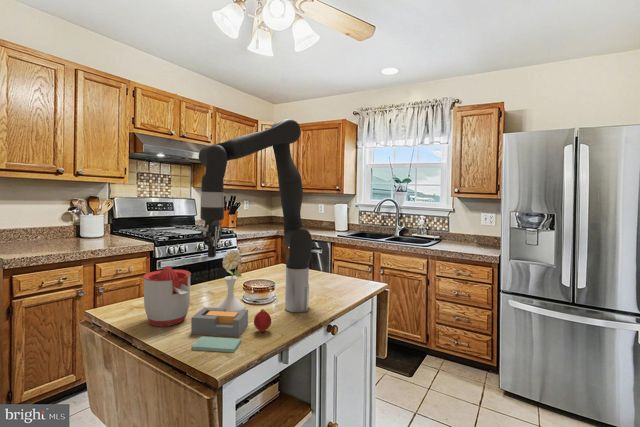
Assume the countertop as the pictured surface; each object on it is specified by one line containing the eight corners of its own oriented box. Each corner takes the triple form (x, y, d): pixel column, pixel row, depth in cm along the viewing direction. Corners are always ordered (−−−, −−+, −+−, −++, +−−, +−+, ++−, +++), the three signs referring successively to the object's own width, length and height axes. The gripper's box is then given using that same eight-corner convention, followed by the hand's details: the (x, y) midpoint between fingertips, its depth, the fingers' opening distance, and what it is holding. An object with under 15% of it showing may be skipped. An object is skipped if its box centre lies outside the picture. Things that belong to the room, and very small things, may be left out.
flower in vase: (210, 311, 132) (210, 248, 131) (237, 305, 140) (238, 245, 138) (224, 321, 122) (225, 253, 121) (252, 315, 130) (253, 250, 128)
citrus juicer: (163, 334, 110) (163, 274, 109) (133, 322, 119) (133, 266, 118) (203, 320, 123) (203, 265, 122) (173, 310, 133) (173, 259, 131)
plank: (238, 319, 117) (238, 312, 117) (234, 323, 113) (234, 316, 113) (210, 317, 118) (210, 310, 118) (205, 322, 114) (205, 314, 114)
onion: (254, 328, 117) (255, 305, 117) (271, 328, 118) (271, 305, 117) (252, 335, 111) (253, 311, 111) (270, 335, 112) (270, 311, 111)
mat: (241, 342, 107) (241, 338, 106) (234, 352, 100) (234, 349, 100) (201, 339, 108) (201, 336, 108) (191, 349, 101) (191, 346, 101)
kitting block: (247, 324, 120) (248, 309, 120) (238, 336, 110) (239, 320, 110) (204, 322, 121) (204, 307, 121) (191, 333, 111) (191, 317, 111)
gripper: (215, 207, 106) (215, 261, 108) (230, 205, 120) (229, 253, 121) (192, 206, 107) (192, 260, 108) (209, 204, 120) (209, 253, 121)
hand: (211, 256), depth 114 cm, fingers closed
